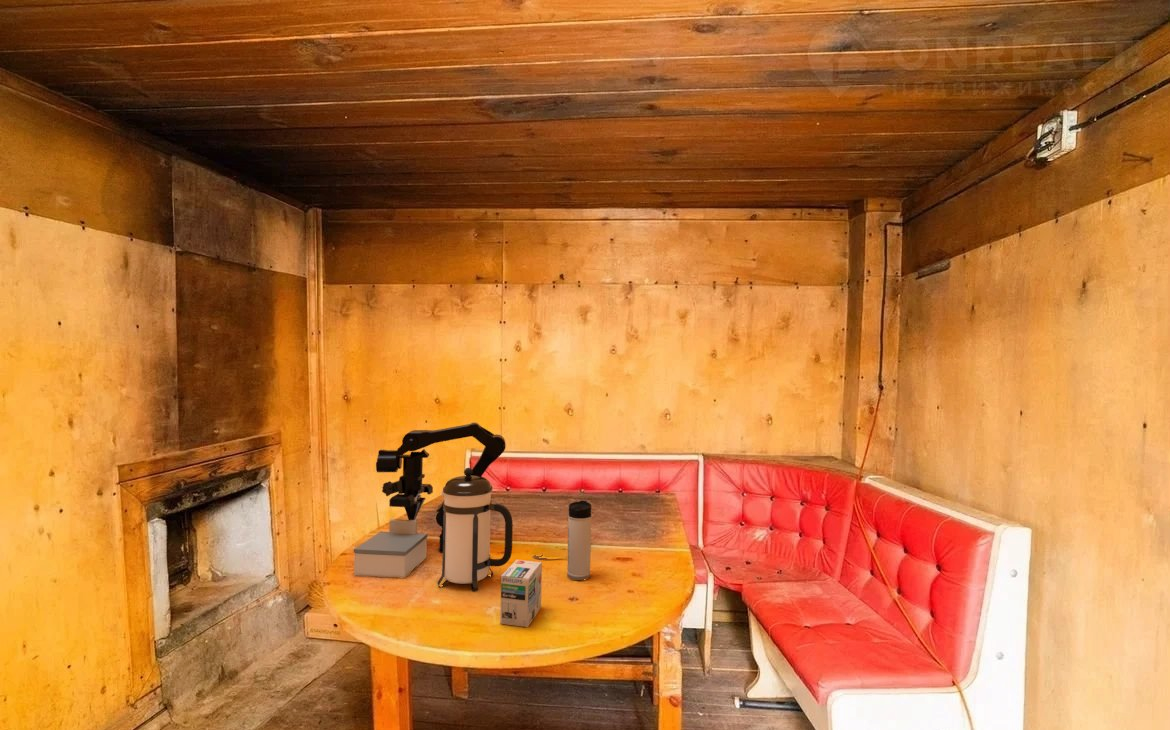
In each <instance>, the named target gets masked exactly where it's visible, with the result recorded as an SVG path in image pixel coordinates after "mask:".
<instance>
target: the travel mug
mask: <svg viewBox="0 0 1170 730" xmlns="http://www.w3.org/2000/svg"><path fill="white" fill-rule="evenodd" d="M567 521H568V522H567V523H568V526H567V567H566V568H567V571H566V572H567V573H566V574H567V576H566V577H567V578H568V577H569V578H570V580H571V579H573V580H572V581H575V580H584V579H587V578H589V577H591V555H592V554H591V552H592V551H591V550H592V549H591V545H592V537H591V536H592V504H591V503H590V502H588V500H581V499H580V500H579V501H574V502H572V503H569V505H568V520H567ZM569 578H568V579H569ZM589 579H590V578H589ZM587 580H588V579H587ZM584 581H585V580H584Z"/></svg>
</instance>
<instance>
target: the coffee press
mask: <svg viewBox="0 0 1170 730" xmlns="http://www.w3.org/2000/svg"><path fill="white" fill-rule="evenodd" d="M463 473H464V475H461V476H460V475H459V476H456V477H452V478H450V479H449V480H447V482H446V483H445V486H444V487H443V488H442V492H440V497H444V498H443V501H444V502H443V501H442V502H443V510H444V516H443V552H442V563H441V565H442V567H441V569H442V570H441V576H440V578H439V580H438V581H437V582H436V583H437V586H438V587H440V586H439V585H443V586H444V587H445V586H446V585H447V584H448V583H449V582H451V583H453V584H465V585H466V584H469V585H470V589H471V591H472V592H475V591H479V581H481V580H483V579H485V578H487V577H488V578H492V577H493V576H494V572H493V570H492V569H491V567H502V566H504V565H506V564H507V563H508V562H509V561H510V559H511V557H512V553H513V535H514V533H513V528H514V527H513V526H514V525H513V518H512V514H511V511H510V510H509V509H508V508H507V507H506V506H505V505H503V504H500V503H492V492H493V488H494V487H493V486H492V484H491V482H490V480H489V479H488V478H485V477H483V476H481V477H480V476H471V475H472V473H473V471H472V468H471V467H466V468H464V471H463ZM491 511H494V512H498V513H500V514H501V515H502V516H503V519H504V552H503V556H502V557H501V558H492V557H491V551H490V549H491V513H492V512H491ZM489 572H490V574H489ZM488 575H491V577H490V576H488ZM443 579H445V580H444V581H443ZM442 581H443V582H442ZM440 583H441V584H440ZM440 588H441V587H440Z"/></svg>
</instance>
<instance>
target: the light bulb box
mask: <svg viewBox="0 0 1170 730" xmlns="http://www.w3.org/2000/svg"><path fill="white" fill-rule="evenodd" d="M542 573H543V563H542V562H540V561H531V560H523V559H515V561H514V562H513V563H512V564H511V565H509V567H508V568H507V570H505V571H504V572H503V574H501V576H500V581H501V582H500V587H501V588H500V625H508V626H515V627H524V628H528V627H529V626H530V625H531V623H532V622H533V621H534V618H535V617H536V616H537V614H538V613H539V611H540V610H541V608H542V580H543V577H542V576H543V574H542Z"/></svg>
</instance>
